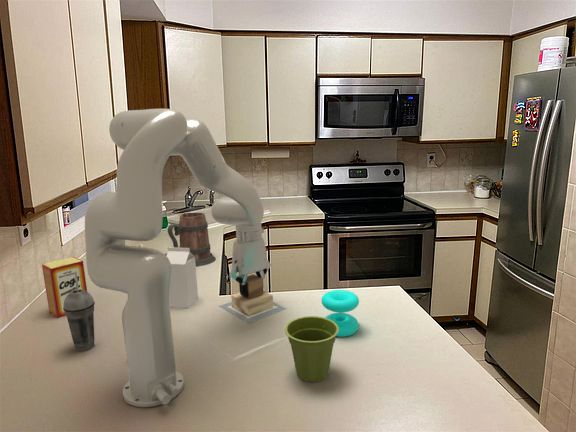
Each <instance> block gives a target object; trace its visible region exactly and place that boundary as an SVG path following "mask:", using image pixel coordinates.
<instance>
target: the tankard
mask: <svg viewBox="0 0 576 432" xmlns="http://www.w3.org/2000/svg"><path fill="white" fill-rule="evenodd" d="M208 224H209V223H208V221H207V219H206V214H205V213H204V212H185V213H181V214H180V216H179V223H178V225H177V224H174V223H173V224H170V225H169V226H168V228H167V234H168V236H169V238H170V239H171V242H172V245H173V248H189V249H190V252H191V253H192V254H193V256H194V257H195V264H196V267H203V266H208V265H210V264H213V263H215V262H216V260H217V259H216V257H215V256H214V254H213V253H212V252H211V243H210V239H209V225H208ZM173 231H174V233H173ZM177 236H179V242H178V241H177V238H176V237H177ZM167 253H168V252H167ZM167 253H164V254H165V255H167Z"/></svg>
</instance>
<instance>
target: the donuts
mask: <svg viewBox="0 0 576 432" xmlns="http://www.w3.org/2000/svg"><path fill="white" fill-rule="evenodd" d="M321 304H322V306H323V307H324V308H325V309H326V310H328V311H330V312H333V313H330V314H327V315H326V316H325V317H324V318H327V319H330V320H332V321H334V322H335V323H336V324H337V325H338V327H339V331H338V334H337V335H336V337H338V338H339V337H341V338H342V337H349V336H352V335H354V334H355V333H357V331H358V329H359V326H360V325H359V322H358V321H359V320H358V319H357V318H356V317H355V316H354V315H351V314H349V312H351V311H353V310H355V309H357V307H358V306H359V304H360V299H359V297H358V296H357V294H356V293H354V292H352V291H349V290H344V289H343V290H342V289H334V290H329V291H327V292H325V293H324V294H323V295H322V297H321Z"/></svg>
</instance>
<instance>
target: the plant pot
mask: <svg viewBox="0 0 576 432" xmlns="http://www.w3.org/2000/svg"><path fill="white" fill-rule="evenodd" d="M338 331H339V327H338V325H337V324H336V323H335V322H334V321H332V320H330V319H327V318H325V317H323V316H319V315H318V316H316V315H305V316H301V317H296V318H294V319H292V320H290V321H288V323H286V325H285V326H284V332H285V334H286V336H287V337H288V342H289V344H290V347H291V352H292V357H293V362H294V367H295V371H296V372H295V373H296V375H297V377H298V378H299V379H300V380H302V381H308V382H309V383H318V382H321V381H324V380H325V379H326V378H327V377H328V375H329V372H330V365H331V360H332V354H333V349H334V344H335V342H336V337H337V336H336V335H337V334H338Z"/></svg>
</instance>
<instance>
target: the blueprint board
mask: <svg viewBox="0 0 576 432" xmlns="http://www.w3.org/2000/svg"><path fill="white" fill-rule="evenodd" d="M219 307H220V308H222V309H223V310H225V311H227V312H228V313H230V314H232V315H233V316H235V317H237V318H239V319H240V320H243V322H245V323H248V324H250V323H254V322H256V321H259V320H261V319H265V318H267V317H269V316H271V315H274V314H277V313H279V312H282V311H284V310H287V308H286V307H285V306H282V305H280V304H278V303H276V302H274V301H273V308H270V309H268V310H265V311H262V312H260V313H257V314H254V315H252V316H247V315H245V314H244V313H242V312H240V311H238V310H236V309H235V308H233V307H232V301H229V302H227V303H224V304H221V305H219Z"/></svg>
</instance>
